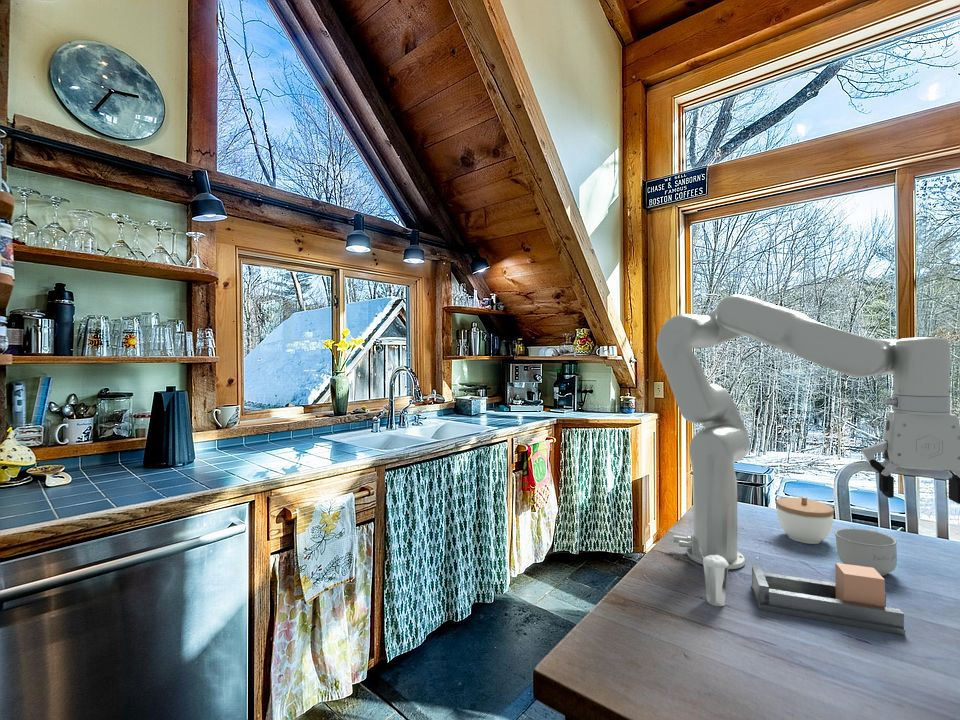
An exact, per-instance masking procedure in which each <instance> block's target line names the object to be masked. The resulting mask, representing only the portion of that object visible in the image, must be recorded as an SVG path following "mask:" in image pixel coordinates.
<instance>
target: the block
mask: <svg viewBox="0 0 960 720" xmlns="http://www.w3.org/2000/svg"><path fill="white" fill-rule="evenodd" d="M834 572H835V575H834V576H835V581H834V583H835V598H836V599H839V600H845V601H851V602H857V603H864V604H870V605H876V606H883V607H885V593H886V582H885V581H886V579H885V578H884V577H883V576H881V575H880V574H879V573H878V572H877V571H876V570H875V569H874V568H871V567H864V566H857V565H849V564H844V563H843V562H842V563H840V562H835V571H834Z"/></svg>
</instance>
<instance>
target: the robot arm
mask: <svg viewBox="0 0 960 720" xmlns="http://www.w3.org/2000/svg"><path fill="white" fill-rule="evenodd" d="M742 336H744V337H747V338H749V339H753V340H755V341H758V342H761V343H762V344H765V345H768V346H771V347H774V348H777V349H779V350H782V351H784V352H786V353H788V354H792V355H794V356H797V357H799V358H801V359H804V360H807V361H809V362H812V363H814V364H816V365H819V366H822V367H824V368H827V369H830V370H832V371H836V372H838V373H840V374H844V375H847V376H850V377H854V378H868V377H869V378H870V377H875V376H877V377H878V376H886V375H887V376H888V375H889V376H890V375H893V376H892V377H893V378H892V379H893V381H892V382H893V384H892V387H893V394H891V396H890V397H888V398H887V397H886V398H885V397H884V399H883V404H884V406H889V407H891V408H892V409H893V410H890V411H889V412H888V414H887V417H886V421H885V426H884V433H883V441H880V442H878V443H876V444H873V445H870V446H867V447H864V448H862V449H861V450H860V452H861V454H862V455H863V457H864V459H865V460H866V463H867V464H868V466H871V468H872V469H874V470H875V471H876V472H878V489H879V492H881V493H882V495H884V496H885V497H887V498H889V499H893V498H894V497H895V496H894V495H895V491H894V490H895V483H894V482H895V481H894V480H895V478H894V476H892V475H891V474H892V473H894V472H895V471H896V470H897V469H898V468H902V469H903V468H904V469H910V470H911V469H913V470H914V469H915V470H926V471H940V472H941V471H943V472H948V474H950V475H951V477H949V478H948V499H949V500H950V501H952V502H954V503H957V504H958V505H960V420H959V418H958V415H957V414H955V413H951V345H950V343H949V341H948V340H947V339H945V338H942V337H931V336H930V337H907V338H906V337H905V338H900V339H884V338H883V339H882V338H874V337H866V336H863V335H859V334H857V333H852V332H849V331H846V330H842V329H839V328H836V327H833V326H830V325H826V324H824V323H821V322H818V321H816V320H814V319H811V318H809V317H808V316H807V315H806V314H804V313H802V312H800V311H796V310H794V309H793V310H792V309H789V308H785V307H782V306H779V305H775V304H773V303H770V302H766V301H763V300H760V299H759V298H756V297H752V296H748V295H743V294H732V295H728V296H726V297H725V298H723V299H721V301H720V302H719V303H718V304H717V306H716V309H715V310H714V311H712V312H710V313H708V314H704V315H702V314H694V313H681V314H680V313H679V314H677V315H674V316H672V317H671V318H669V319H668V320H667V321H666V322H665V323H664V324H663V325H662V327H661V328H660V331H659V333H658V335H657V339H656V350H657V355H658V359H659V361H660V363H661V367H662V368H663V370H664V373H665V376H666V378H667V381H668V383H669V386H670V389H671V391H672V393H673V396H674V399H675V402H676V404H677V407H678V409H679V412H680V415H681V416H682V417H683V418H684V420H686V421H687V422H689V423H691V424H697V425H698V424H699V425H700V424H702V425H703V429H701V430H699V431H698V432H697V433H695V434H694V435H693V437H692V439H691V441H690V443H689V444H690V445H689V457H690V463H691V470H692V493H693V494H692V495H693V496H692V497H693V498H692V500H693V503H692V504H693V505H692V506H693V511H692V515H693V519H692V520H693V521H692V522H693V526H692V527H693V528H692V529H693V532H691V535H687V536H682V535H677V534H673V544H678V546H679V547H682V548H686V555H687V557H688V558H689V559H690V560H691V561H693V562H695V563H697V564H699V565H702V566H704V565H703V557H702V554H703V556H704V557H706V556H708V555H719V556H721V557H723V558H725V559H726V561H727V562H728V564H729V566H728V570H737V569H740V568H742V567H744V566H745V564H746V558H745V556H744V555H743V554H742V553H741V552H740V551H739V550H738V481H737V476H736V475H737V474H736V471H735V470H736V469H735V463H736V462H739V461H740V460H743V459H744V458H745V457H746V456H747V455H748V454H749V451H750V448H751V439H750V436H749V433H748V431H747V429H746V426H745V424H744V421H743V418H742V417H741V415H740V412H739V410H738V407H737V405H736V403H735V400H734V398H733V397H732V396H731V394H730V393H729V392H728V391H727V390H726V389H725V388H724V387H723V386H721V385H718V384H714V383H709V380H708V379H707V377H706V375H705V373H704V369H703V366H702V364H701V363H700V361H699V360H698V358H697V357H696V355H695V354H694V352H693V349H707V348H711V347H714V346H717V345H720V344H723V343H726V342H729V341H731V340H734V339H737V338H740V337H742ZM881 452H882V455H883V459H884V460H883V461H882V462H879V461H878V460H877V459H876V457H875V455H876V454H878V453H881ZM699 548H700V549H701V551H702V554H701V552H700V549H699Z"/></svg>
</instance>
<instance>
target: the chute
mask: <svg viewBox="0 0 960 720" xmlns="http://www.w3.org/2000/svg"><path fill="white" fill-rule="evenodd" d="M751 588H752V591H753V594H754V596H755V599H756V603H757V606H758V608H759V610H760V611H766V612H771V613H776V614H783V615H787V616H795V617H798V618H804V619H811V620H818V621H822V622H829V623H833V624H840V625H844V626H845V625H846V626H849V627H857V628H861V629H862V628H863V629H866V630H873V631H878V632H884V633H891V634H895V635H901V636H906V629H905V613H904V612H903V611H902V610H901V609H900V608H894V607H887V594H886V592H885V607H883V606H876V605H870V604H864V603H857V602H851V601H845V600H839V599H836V598H835V582H833V581H827V580H826V581H825V580H819V579H812V578H805V577H799V576H793V575H785V574H779V573H778V574H777V573H771V572H764V571H763V569H762V567H761V566H757V565H756V566H755V565H751Z"/></svg>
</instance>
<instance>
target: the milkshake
mask: <svg viewBox="0 0 960 720" xmlns="http://www.w3.org/2000/svg"><path fill="white" fill-rule="evenodd" d="M699 549H700V548H699ZM700 552H701V554H702V551H701V549H700ZM702 557H703V565H702V566H703V572H704V581H705V595H706V602H707V603H708V604H709V605H711V606H713V607H720V608H721V607H724V606H725V605H726V604H725V603H726V593H727V580H728V573H729V569H728V566H729V564H728V562H727V561H726V559H725V558H723V557H721V556H719V555H708V556H706V557H704V556H703V554H702Z"/></svg>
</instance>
